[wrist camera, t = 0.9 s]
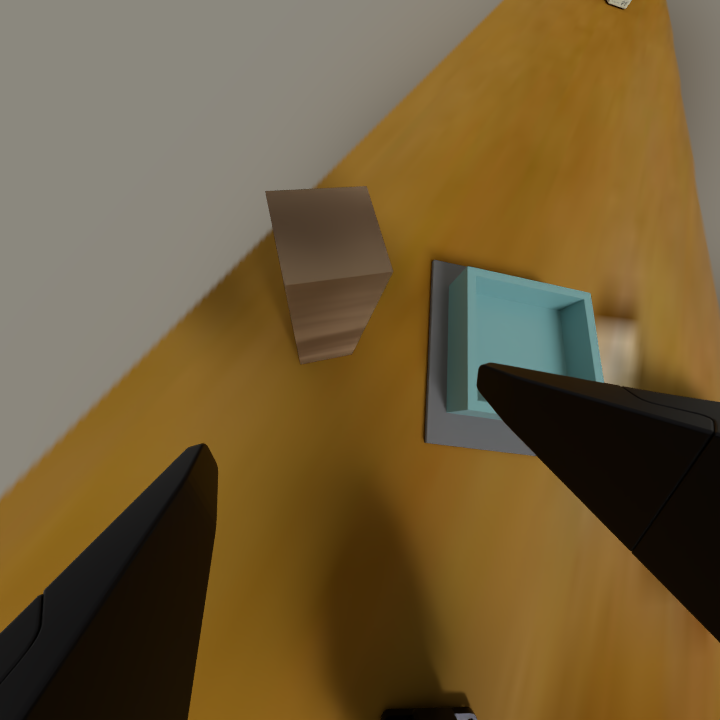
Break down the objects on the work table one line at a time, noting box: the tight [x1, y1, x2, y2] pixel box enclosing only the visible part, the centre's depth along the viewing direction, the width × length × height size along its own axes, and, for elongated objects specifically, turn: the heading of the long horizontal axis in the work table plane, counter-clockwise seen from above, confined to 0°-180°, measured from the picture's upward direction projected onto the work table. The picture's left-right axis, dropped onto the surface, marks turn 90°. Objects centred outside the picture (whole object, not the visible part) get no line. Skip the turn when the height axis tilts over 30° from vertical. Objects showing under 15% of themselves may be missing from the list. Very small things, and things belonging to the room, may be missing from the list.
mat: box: [425, 260, 536, 456], centre depth 25 cm, size 18×16×1 cm
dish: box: [446, 266, 604, 420], centre depth 24 cm, size 13×13×3 cm
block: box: [266, 186, 393, 364], centre depth 17 cm, size 4×4×12 cm
